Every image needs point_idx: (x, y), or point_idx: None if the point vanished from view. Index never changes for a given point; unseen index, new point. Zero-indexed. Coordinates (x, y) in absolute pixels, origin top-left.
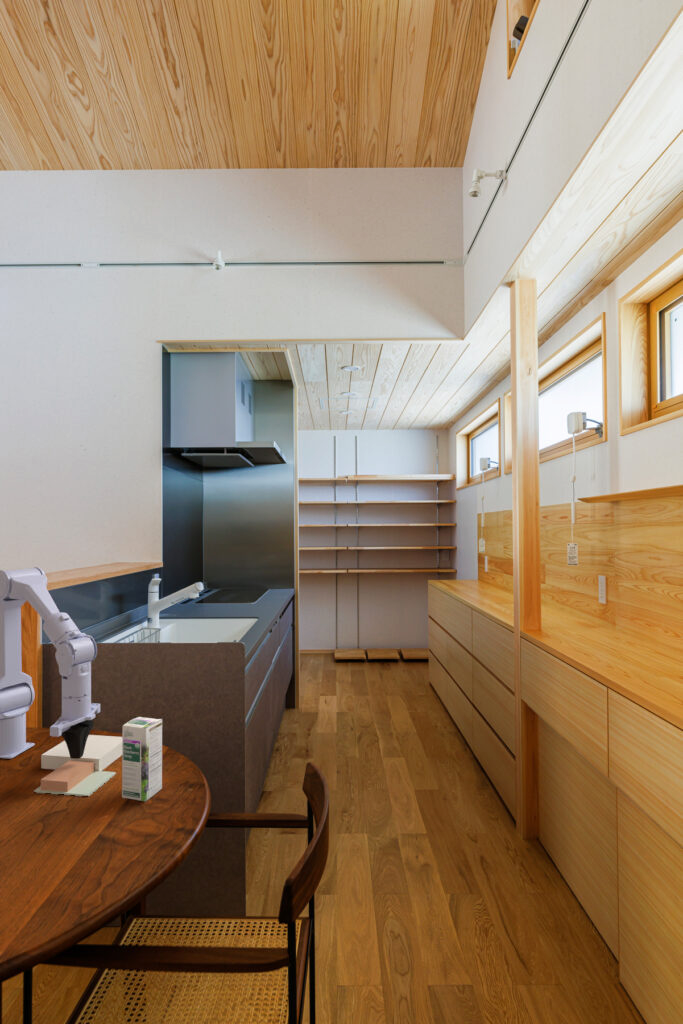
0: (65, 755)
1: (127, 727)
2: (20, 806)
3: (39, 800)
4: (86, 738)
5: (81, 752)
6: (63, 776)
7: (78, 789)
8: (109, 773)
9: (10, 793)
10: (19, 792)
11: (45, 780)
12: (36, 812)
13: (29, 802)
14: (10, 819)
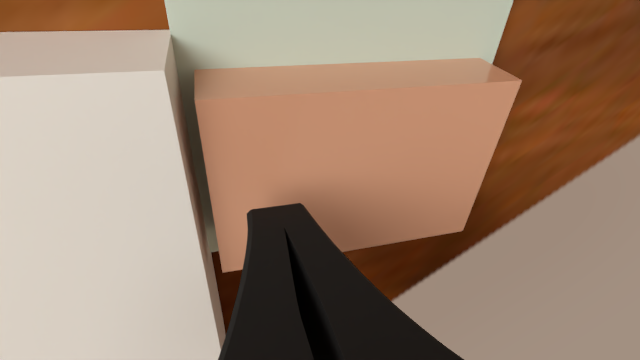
0: (197, 322)
1: None
2: (539, 175)
3: (509, 143)
4: (259, 344)
5: (294, 229)
6: (439, 155)
7: (464, 4)
8: None
9: (431, 270)
10: (427, 253)
11: (469, 208)
12: (615, 80)
13: (516, 168)
14: (627, 139)
